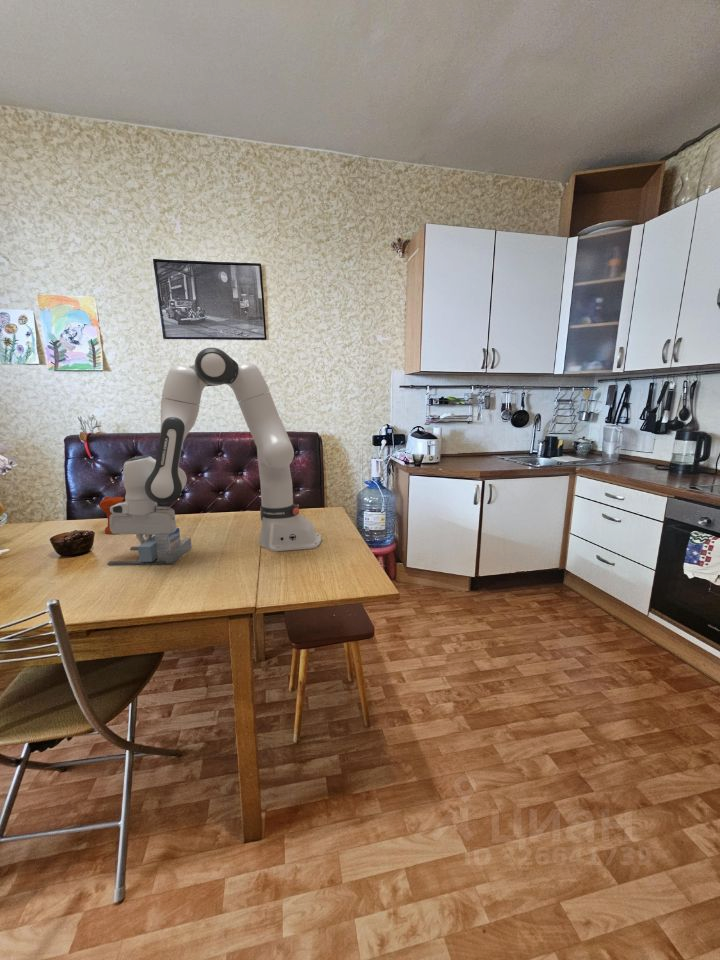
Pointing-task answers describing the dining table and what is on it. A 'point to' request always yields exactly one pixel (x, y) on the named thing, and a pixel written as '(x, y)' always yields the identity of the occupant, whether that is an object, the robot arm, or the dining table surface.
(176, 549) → the vise
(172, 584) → the dining table surface
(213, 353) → the robot arm
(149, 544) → the vise jaw
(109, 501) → the toy drill
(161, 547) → the medicine box
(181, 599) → the dining table surface
